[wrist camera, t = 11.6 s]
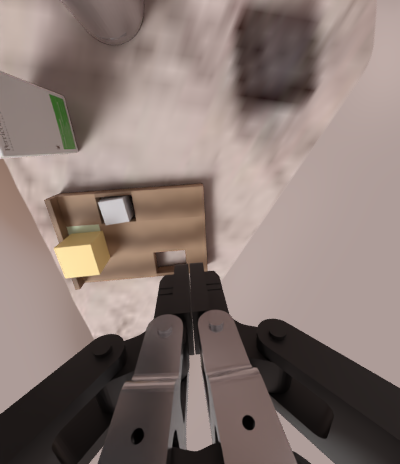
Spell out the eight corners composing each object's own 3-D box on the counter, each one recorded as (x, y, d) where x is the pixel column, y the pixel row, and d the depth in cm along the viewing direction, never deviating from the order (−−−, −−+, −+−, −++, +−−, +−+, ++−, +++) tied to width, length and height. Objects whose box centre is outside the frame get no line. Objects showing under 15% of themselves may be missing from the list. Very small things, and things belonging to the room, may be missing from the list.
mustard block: (70, 233, 38) (53, 248, 33) (102, 230, 38) (90, 244, 33) (80, 260, 40) (65, 278, 35) (110, 257, 40) (99, 274, 35)
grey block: (105, 196, 38) (97, 202, 35) (128, 192, 38) (122, 198, 35) (112, 217, 40) (105, 225, 36) (134, 214, 40) (129, 221, 36)
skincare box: (79, 152, 35) (8, 161, 21) (37, 155, 35) (-64, 166, 21) (64, 92, 32) (-33, 54, 18) (17, 94, 32) (-120, 57, 17)
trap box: (59, 193, 37) (44, 200, 33) (202, 183, 39) (204, 188, 34) (85, 275, 44) (75, 289, 40) (206, 265, 45) (208, 277, 41)
